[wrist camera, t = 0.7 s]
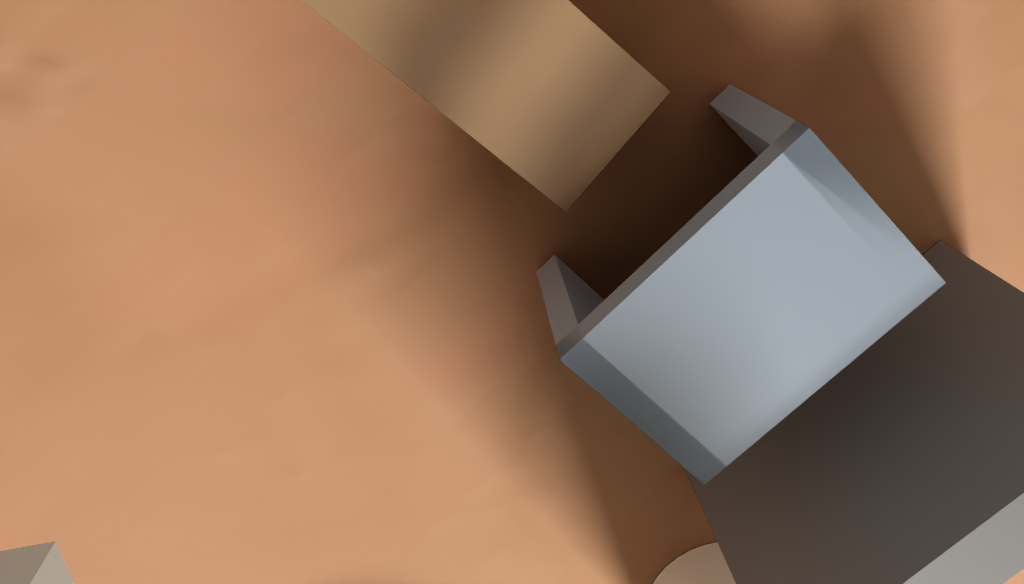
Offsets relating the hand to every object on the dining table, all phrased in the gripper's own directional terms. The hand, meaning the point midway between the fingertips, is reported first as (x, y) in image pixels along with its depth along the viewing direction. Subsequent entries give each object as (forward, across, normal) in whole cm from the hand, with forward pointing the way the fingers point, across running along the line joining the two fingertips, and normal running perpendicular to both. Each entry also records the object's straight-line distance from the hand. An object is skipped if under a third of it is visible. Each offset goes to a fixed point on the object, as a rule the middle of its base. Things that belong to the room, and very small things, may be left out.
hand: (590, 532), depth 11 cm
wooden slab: (+23, -1, +5) cm, 24 cm away
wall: (+22, +12, -13) cm, 28 cm away
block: (+23, +7, -6) cm, 24 cm away
